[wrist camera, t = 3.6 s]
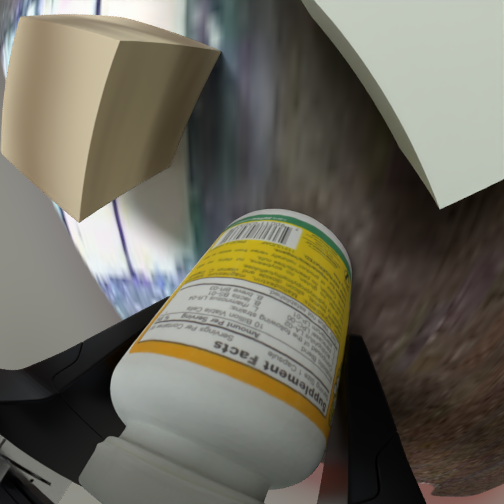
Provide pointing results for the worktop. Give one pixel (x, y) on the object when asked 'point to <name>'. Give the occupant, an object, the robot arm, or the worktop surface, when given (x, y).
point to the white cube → (430, 82)
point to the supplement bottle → (232, 371)
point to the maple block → (97, 104)
